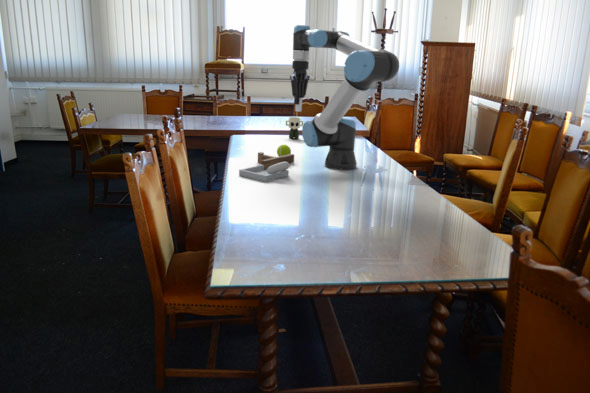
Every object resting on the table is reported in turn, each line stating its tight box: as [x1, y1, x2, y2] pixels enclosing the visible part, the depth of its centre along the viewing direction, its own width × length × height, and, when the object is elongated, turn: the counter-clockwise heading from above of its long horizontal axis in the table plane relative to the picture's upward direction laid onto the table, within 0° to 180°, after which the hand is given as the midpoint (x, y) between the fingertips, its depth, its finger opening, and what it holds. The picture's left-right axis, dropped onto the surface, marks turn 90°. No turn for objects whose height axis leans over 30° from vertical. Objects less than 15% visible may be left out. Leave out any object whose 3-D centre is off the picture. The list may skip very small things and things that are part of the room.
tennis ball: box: [276, 144, 292, 157], centre depth 241 cm, size 7×7×7 cm
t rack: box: [257, 151, 295, 170], centre depth 228 cm, size 12×22×5 cm, turn 143°
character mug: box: [285, 116, 304, 140], centre depth 299 cm, size 11×7×13 cm, turn 94°
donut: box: [266, 162, 290, 174], centre depth 204 cm, size 10×4×10 cm
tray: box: [238, 164, 289, 183], centre depth 205 cm, size 15×15×2 cm
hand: (298, 111), depth 230 cm, fingers closed
